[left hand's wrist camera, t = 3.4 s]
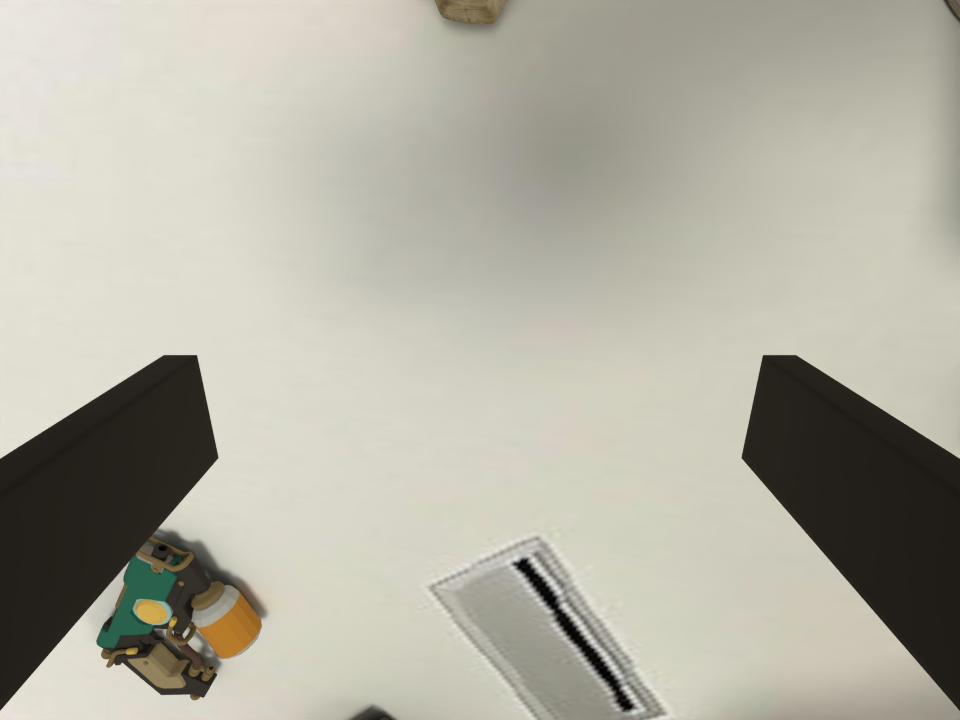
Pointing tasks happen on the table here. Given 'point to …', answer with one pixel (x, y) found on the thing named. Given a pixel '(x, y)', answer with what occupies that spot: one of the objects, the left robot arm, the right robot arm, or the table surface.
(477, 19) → the sculpture
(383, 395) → the table surface
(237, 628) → the spray gun
